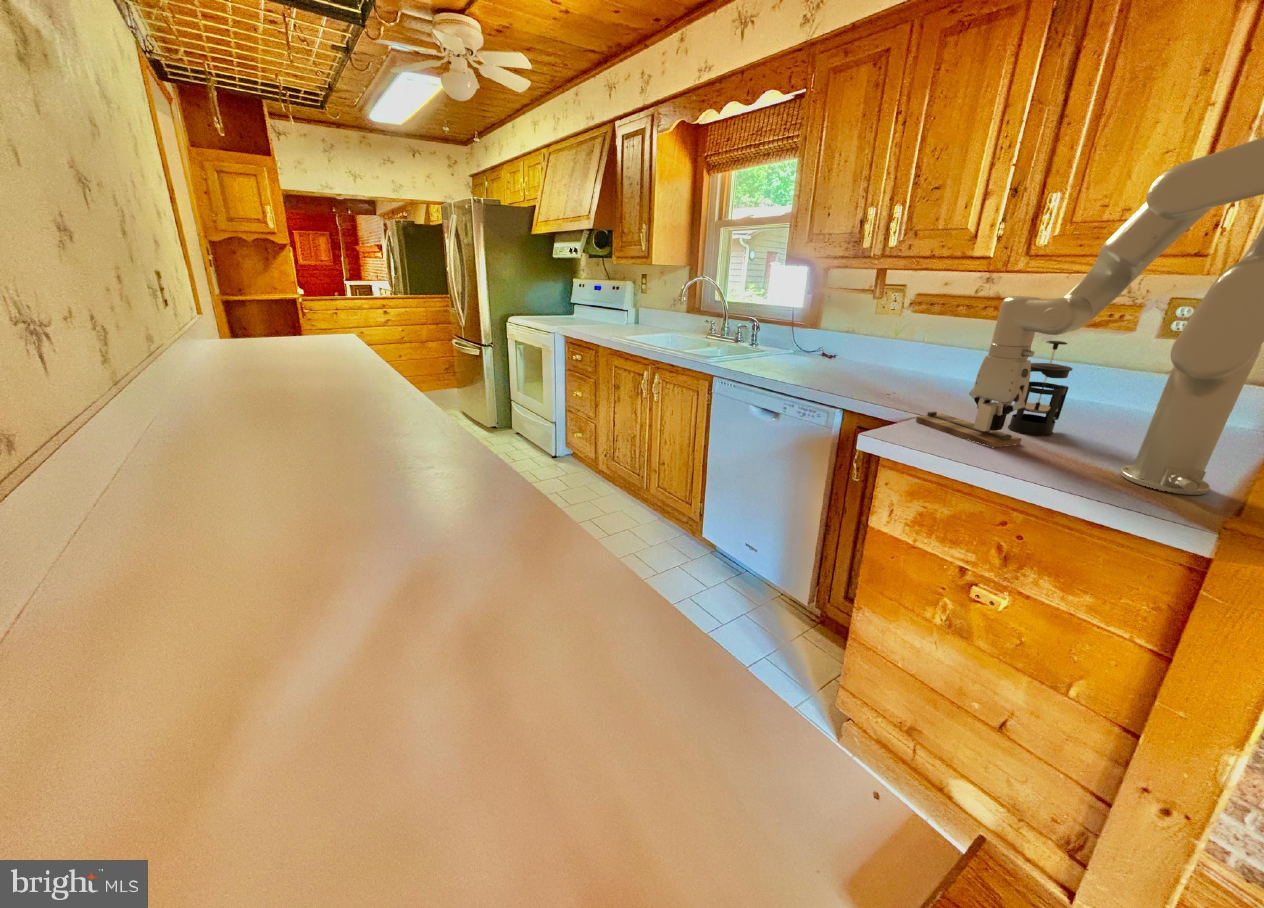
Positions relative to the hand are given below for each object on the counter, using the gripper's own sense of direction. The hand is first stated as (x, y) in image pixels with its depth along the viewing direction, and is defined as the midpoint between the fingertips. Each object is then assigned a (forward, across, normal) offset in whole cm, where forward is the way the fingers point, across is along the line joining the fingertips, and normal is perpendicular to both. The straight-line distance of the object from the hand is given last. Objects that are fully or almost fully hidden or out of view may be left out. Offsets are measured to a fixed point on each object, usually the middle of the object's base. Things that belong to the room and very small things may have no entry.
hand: (988, 426), depth 123 cm
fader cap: (+1, 0, 0) cm, 1 cm away
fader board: (+3, +6, 0) cm, 6 cm away
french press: (+3, +1, -18) cm, 18 cm away
